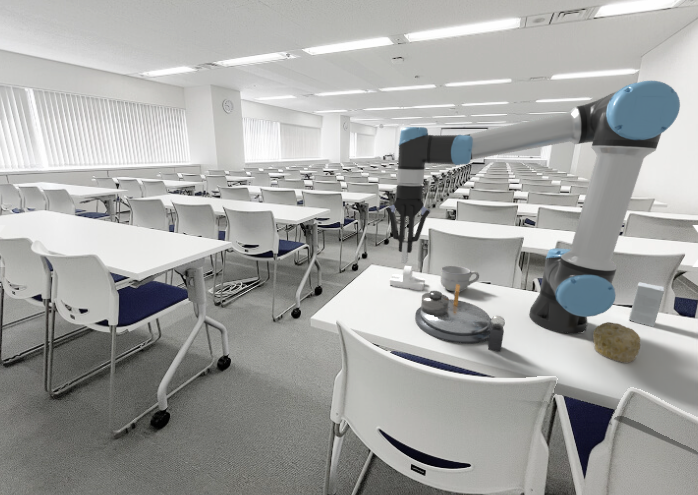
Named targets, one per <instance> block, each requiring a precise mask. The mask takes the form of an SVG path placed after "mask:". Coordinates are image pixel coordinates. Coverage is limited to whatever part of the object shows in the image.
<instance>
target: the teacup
mask: <svg viewBox="0 0 698 495" xmlns="http://www.w3.org/2000/svg"><path fill="white" fill-rule="evenodd" d="M472 275H476V277H475V278H474V279H472V280H470V278H471V276H472ZM479 279H480V273H479V272H478V271H476V270H472V271H471V270H470V269H469V268H467V267H464V266H459V265H444V266H442V267H441V268H440V283H441V286H442V287H444V289H445V290H447V291H451V292H455V289H456V284H459V285H460V289H459V292H462V291H464V290H465V289H467V288H468V287H469V286H470V285H471V284H474V283H475V282H477V281H479Z"/></svg>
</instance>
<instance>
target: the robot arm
mask: <svg viewBox="0 0 698 495" xmlns="http://www.w3.org/2000/svg"><path fill="white" fill-rule="evenodd" d="M680 107H681V102H680V97H679V95H678V93H677V91H676V90H675V89H674V88H673V87H672V86H671V85H669V84H667V83H666V82H662V81H658V80H643V81H639V82H633V83H630V84H628V85H625V86H623V87H622V88H620V89H618V90H617V91H614V92H612V93H610V94H608V95H606V96H604V97H601V98H600V99H596V100H594V101H592V102H589V103H585V104H581V105H578V106H574V107H573V108H571V110H570V111H568V112H564V113H560V114H555V115H551V116H546V117H540V118H537V119H533V120H528V121H523V122H518V123H514V124H513V123H512V124H509V125H504V126H500V127H495V128H491V129H486V130H481V131H477V132H472V133H469V134H448V135H447V134H446V135H445V134H444V135H443V134H442V135H433V134H432V135H431V134H429V132H428V128H427V127H424V126H423V127H422V126H421V127H420V126H407V127H406V126H405V127H404V128H402V129H401V130H400V134H399V142H398V157H397V158H398V159H397V160H398V161H397V175H396V183H398V184H397V185H396V192H395V193H396V194H395V201H393V202H394V203H393V204H392V205H389V206H388V207H387V208H385V211H386V213H387V214H388V217H389V220H390V227H391V233H392V237H393V239H394V240H396V241H398V252H399V253H401V262H400V264H403V265H404V264H405V265H406V264H408V261H409V254H411V253H412V250H413V243H414V242H418V241H419V239H420V236H421V233H422V231H423V229H424V228H423V227H424V225H425V221H426V219H427V217H428V215H429V214H430V213H431V210H430V209H429V208H427V207H425V206H424V202H423V195H424V194H423V192H424V186H423V184H424V180H425V167H426V166H425V165H426V164H428V165H430V164H434V165H455V166H460V165H468V164H470V162H471V161H472V160H477V159H482V158H487V157H493V156H499V155H505V154H510V153H515V152H520V151H526V150H532V149H537V148H541V147H542V148H543V147H548V146H553V145H557V144H558V145H559V144H564V143H568V142H569V143H570V142H571V143H572V144H574V145H579V144H585V143H591V149H592V150H593V151H594V152H595V154H596V158H595V161H594V165H593V167H592V171H591V176H590V179H589V183H588V185H587V190H586V193H585V197H584V201H583V203H582V208H581V212H580V214H579V218H578V222H577V225H576V229H575V232H574V236H573V240H572V243H571V246H570V248H568V249H567V248H556V247H555V248H550V249H549V250H548V251H547V254H546V257H545V262H544V268H543V274H542V280H541V285H540V290H539V294H538V295H537V297H536V299H535V300H534V302H533V304H532V306H531V307H530V310H529V314H528V315H529V316H528V317H529V318H530V320H531V321H532V322H534V323H535V324H537V325H538V326H540V327H543V328H545V329H548V330H549V331H553V332H556V333H557V332H558V333H562V334H569V335H570V334H571V335H572V334H573V335H575V334H581V333H583V332H585V331H587V327H588V317H589V318H591V317H595V316H598V315H601V314H604V313H606V312H607V311H608V310H609V309H611V308H612V307H613V305H614V303H615V301H616V295H617V294H616V290H615V287H614V285H613V281H614V278H615V275H616V271H617V269H618V267H617V265H616V263H615V262H614V261H613V255H614V252H615V249H616V246H617V243H618V240H619V237H620V234H621V231H622V227H623V224H624V222H625V218H626V216H627V211H628V209H629V205H630V203H631V200H632V195H633V192H634V190H635V187H636V185H637V181H638V178H639V175H640V173H641V172H640V171H641V168H642V166H643V162H644V159H645V158H646V157H648V156H649V155H651V154H652V153H653V152H656V151H657V147H658V145H659V142H660V139H661V136H662V134H663V133H664V132H666V131H667V130H668V129H669V128H670V127H671V126H672V125H673V123H674V122H675V120H676V119H677V117H678V116H679V113H680ZM396 211H397V213H398V214H399V215H400V216H399V229H398V223H397V218H396V213H395V212H396ZM419 212H420V214H421V217H420V220H419V223H418V226H417V229H416V232H415V235H414V231H415V230H414V229H415V219H416V216H417V215H418V214H419ZM407 217H408V228H407V231H408V232H407V240H405V239H406V238H405V236H406V225H407V224H406V223H407V221H406V220H407Z"/></svg>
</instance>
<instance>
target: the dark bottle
mask: <svg viewBox="0 0 698 495" xmlns="http://www.w3.org/2000/svg"><path fill="white" fill-rule="evenodd" d="M491 323H492V324H491V325H490V332H489V339H488V340H487V350H490V351H493V352H494V351H495V352H498V353H499V352H501V350H502V346H503V338H504V335H505V334H504V333H505V332H504V331H505V330H504V326H505V324H506V321H505V319H504V317H503V316H501V315H495V316H493V317H492V318H491Z"/></svg>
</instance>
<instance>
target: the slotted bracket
mask: <svg viewBox="0 0 698 495" xmlns="http://www.w3.org/2000/svg"><path fill="white" fill-rule="evenodd" d="M425 282H426V278H424V277H417V276H413V266H409V265H404V268H403V272H402V274H394V273H393V274H391V277H390V278H389V282H388V284H390V285H393V286H392V287H395V286H399V287H398V288H402V287H404V288H403V289H409V288H410V290H416V291H417V290H418V291H423V290H424V286H425V284H426V283H425ZM390 285H389V286H390Z"/></svg>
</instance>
